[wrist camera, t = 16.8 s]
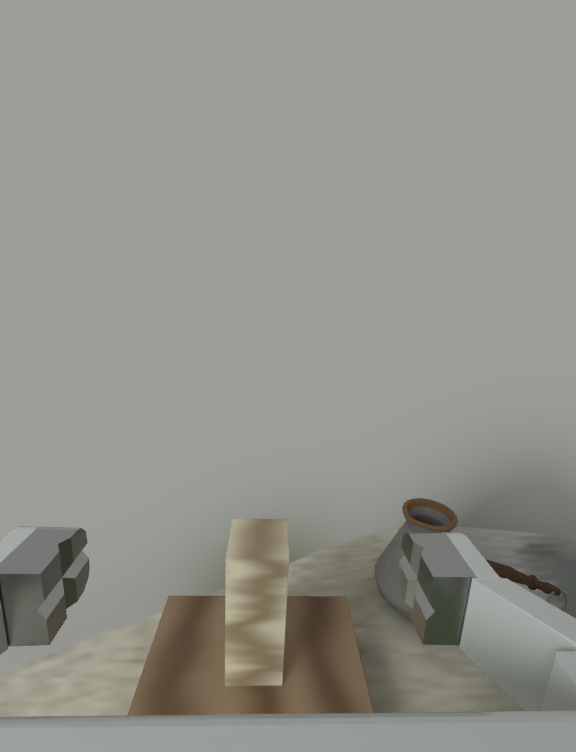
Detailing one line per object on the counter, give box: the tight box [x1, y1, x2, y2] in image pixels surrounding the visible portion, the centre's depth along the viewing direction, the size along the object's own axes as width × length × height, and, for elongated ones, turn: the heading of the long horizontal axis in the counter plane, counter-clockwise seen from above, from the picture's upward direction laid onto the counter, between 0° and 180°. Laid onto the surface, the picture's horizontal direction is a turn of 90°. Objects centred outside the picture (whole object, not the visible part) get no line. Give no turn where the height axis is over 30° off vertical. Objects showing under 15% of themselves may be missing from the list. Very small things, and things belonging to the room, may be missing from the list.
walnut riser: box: [127, 596, 374, 716], centre depth 34 cm, size 20×14×5 cm
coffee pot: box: [375, 498, 567, 620], centre depth 41 cm, size 21×12×15 cm, turn 21°
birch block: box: [225, 519, 289, 686], centre depth 32 cm, size 5×5×13 cm
